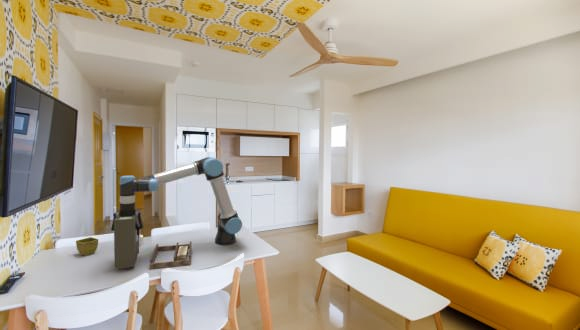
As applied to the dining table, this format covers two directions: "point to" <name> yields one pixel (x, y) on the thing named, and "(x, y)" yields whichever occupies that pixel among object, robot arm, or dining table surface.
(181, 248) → the offcut top
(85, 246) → the flower pot
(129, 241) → the book
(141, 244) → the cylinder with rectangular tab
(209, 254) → the dining table surface
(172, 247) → the rack
